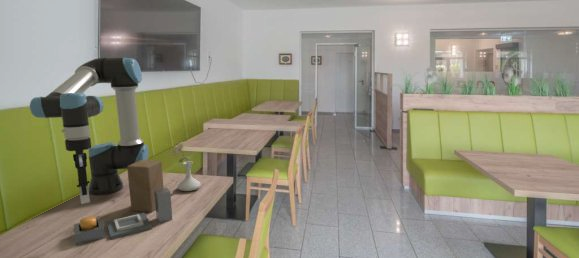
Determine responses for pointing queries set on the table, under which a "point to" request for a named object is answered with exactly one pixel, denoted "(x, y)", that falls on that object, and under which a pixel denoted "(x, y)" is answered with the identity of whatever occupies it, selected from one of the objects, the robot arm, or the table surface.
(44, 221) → the table surface
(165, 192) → the steel billet
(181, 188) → the flower in vase
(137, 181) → the wooden block
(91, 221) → the button
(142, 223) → the plate
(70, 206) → the table surface
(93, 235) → the button station
